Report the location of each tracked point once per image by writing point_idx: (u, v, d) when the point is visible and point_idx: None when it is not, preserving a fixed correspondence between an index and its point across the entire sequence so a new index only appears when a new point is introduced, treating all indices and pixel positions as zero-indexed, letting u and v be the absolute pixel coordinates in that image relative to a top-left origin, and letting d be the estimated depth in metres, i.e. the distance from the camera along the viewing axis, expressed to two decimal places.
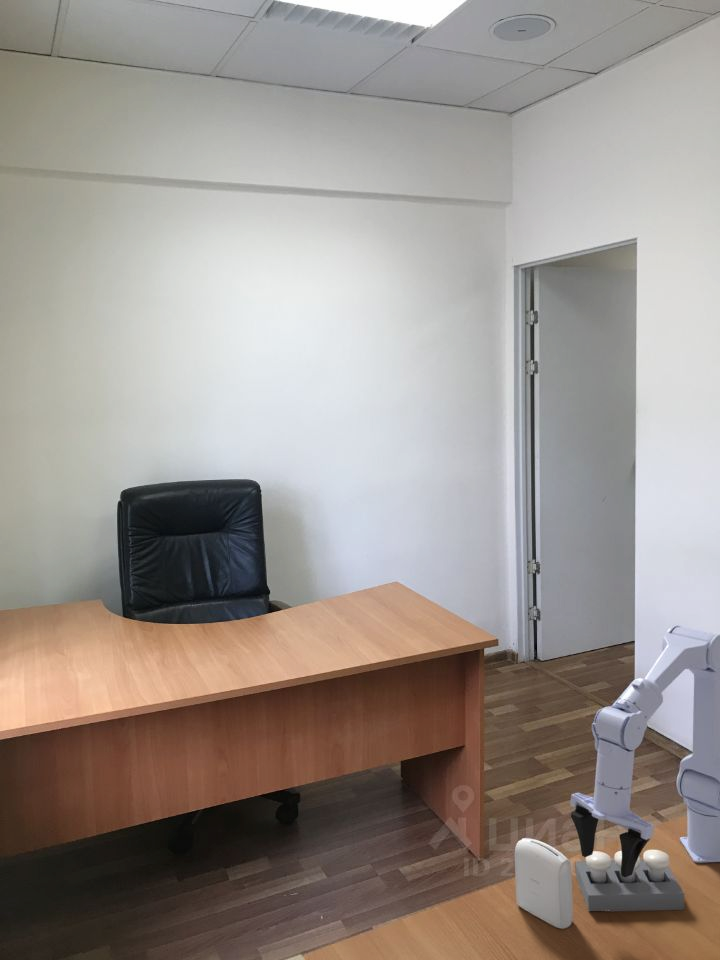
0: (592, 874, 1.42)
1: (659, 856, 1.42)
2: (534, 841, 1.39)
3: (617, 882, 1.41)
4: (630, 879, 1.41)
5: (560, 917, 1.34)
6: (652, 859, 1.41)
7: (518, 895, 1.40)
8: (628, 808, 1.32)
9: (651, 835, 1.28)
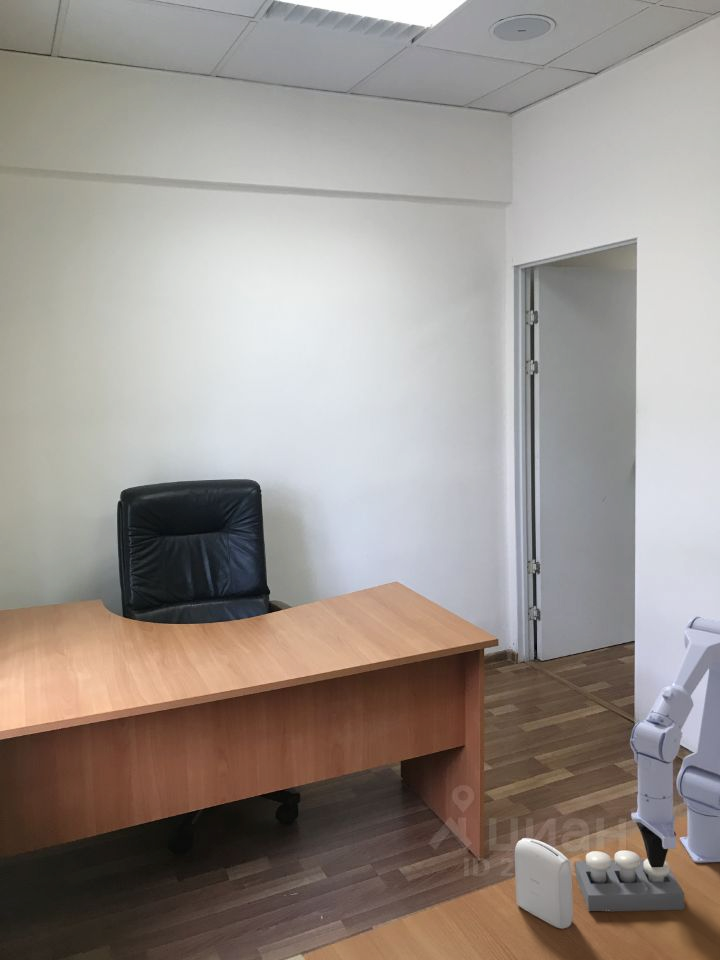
0: (592, 874, 1.42)
1: None
2: (534, 841, 1.39)
3: (617, 882, 1.41)
4: (630, 879, 1.41)
5: (560, 917, 1.34)
6: (652, 867, 1.41)
7: (518, 895, 1.40)
8: (664, 817, 1.38)
9: (673, 846, 1.34)
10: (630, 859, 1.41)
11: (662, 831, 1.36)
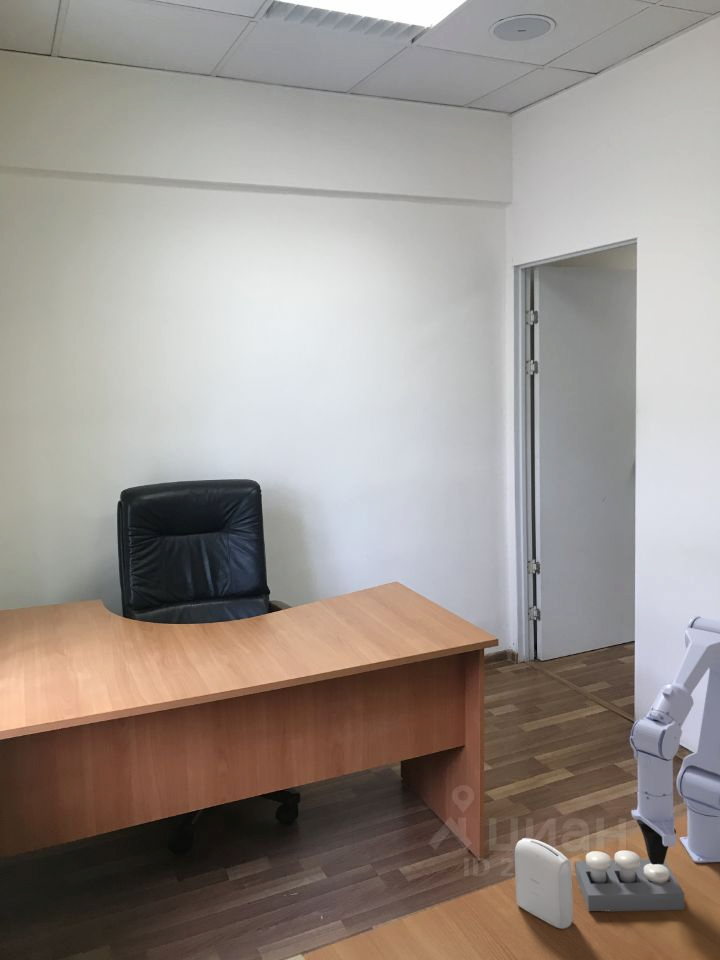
0: (592, 874, 1.42)
1: (659, 870, 1.42)
2: (534, 841, 1.39)
3: (617, 882, 1.41)
4: (630, 879, 1.41)
5: (560, 917, 1.34)
6: (652, 873, 1.41)
7: (518, 895, 1.40)
8: (664, 814, 1.38)
9: (673, 843, 1.34)
10: (630, 859, 1.41)
11: (662, 828, 1.36)
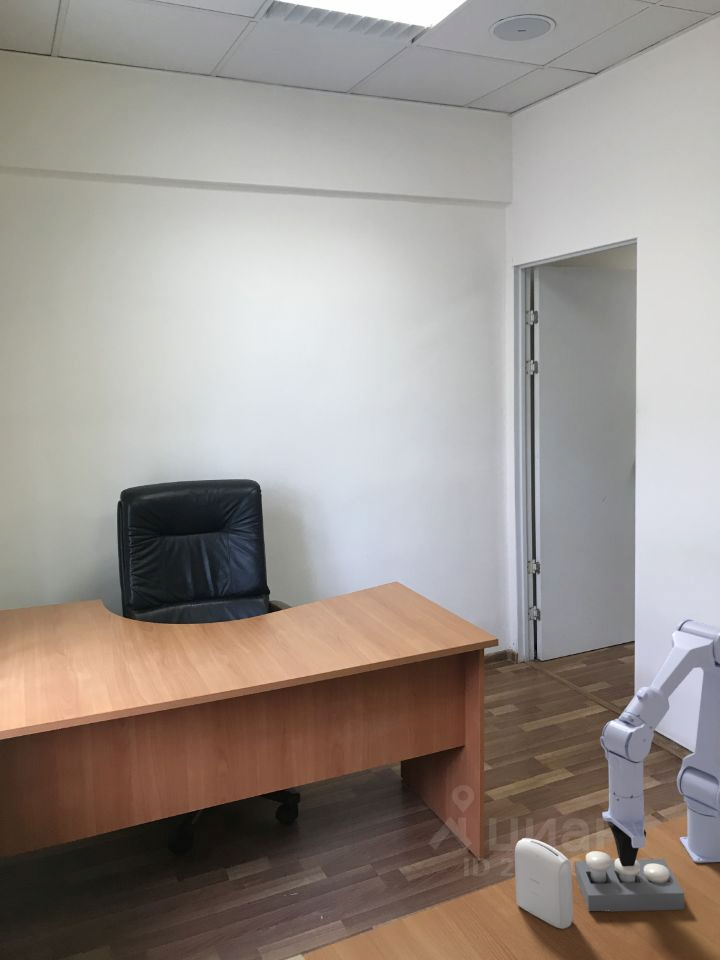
0: (592, 874, 1.42)
1: (659, 870, 1.42)
2: (534, 841, 1.39)
3: (617, 882, 1.41)
4: None
5: (560, 917, 1.34)
6: (652, 873, 1.41)
7: (518, 895, 1.40)
8: (634, 816, 1.38)
9: (642, 845, 1.34)
10: (630, 866, 1.41)
11: (632, 830, 1.36)
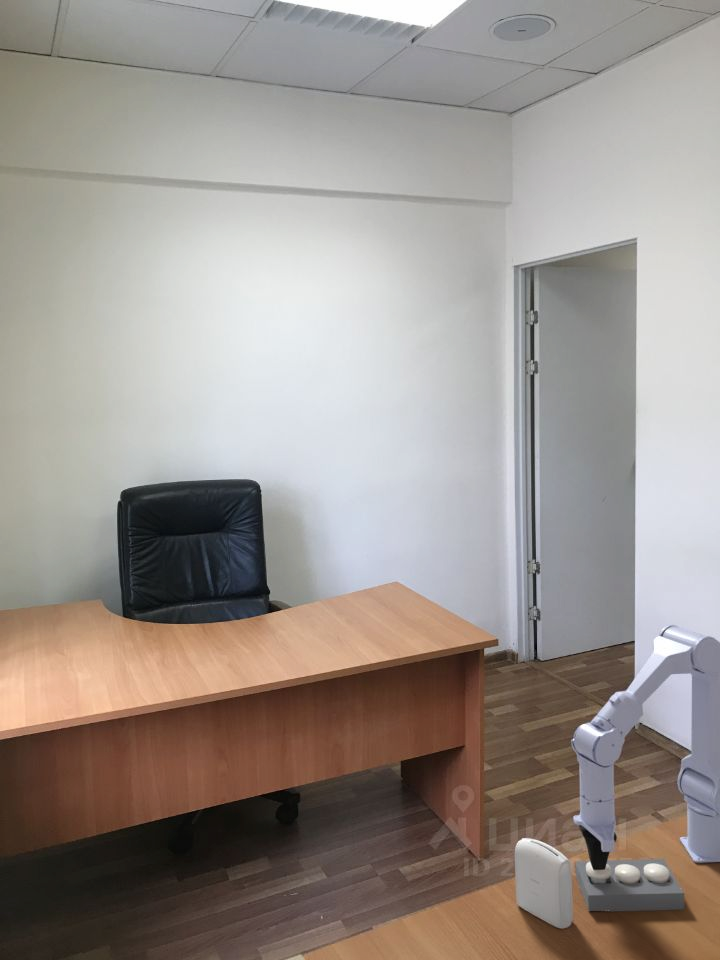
0: (592, 883, 1.42)
1: (659, 870, 1.42)
2: (534, 841, 1.39)
3: (617, 882, 1.41)
4: None
5: (560, 917, 1.34)
6: (652, 873, 1.41)
7: (518, 895, 1.40)
8: (604, 820, 1.39)
9: (611, 849, 1.34)
10: (630, 873, 1.42)
11: (602, 834, 1.37)
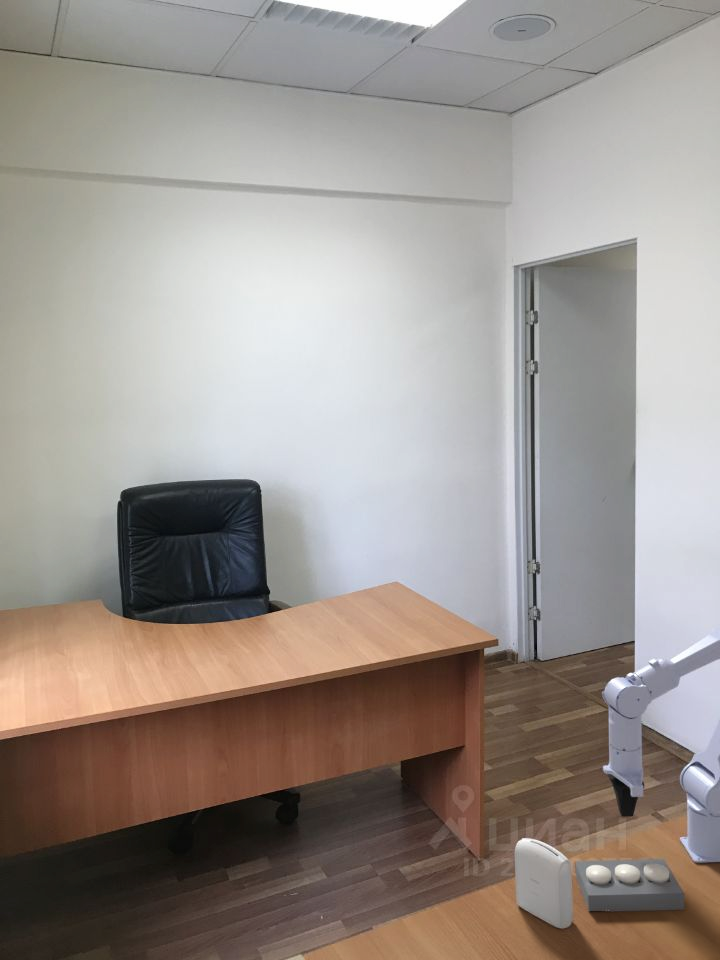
0: None
1: (659, 870, 1.42)
2: (534, 841, 1.39)
3: (617, 882, 1.41)
4: None
5: (560, 917, 1.34)
6: (652, 873, 1.41)
7: (518, 895, 1.40)
8: (633, 768, 1.47)
9: (640, 794, 1.43)
10: (630, 873, 1.42)
11: (631, 781, 1.45)
